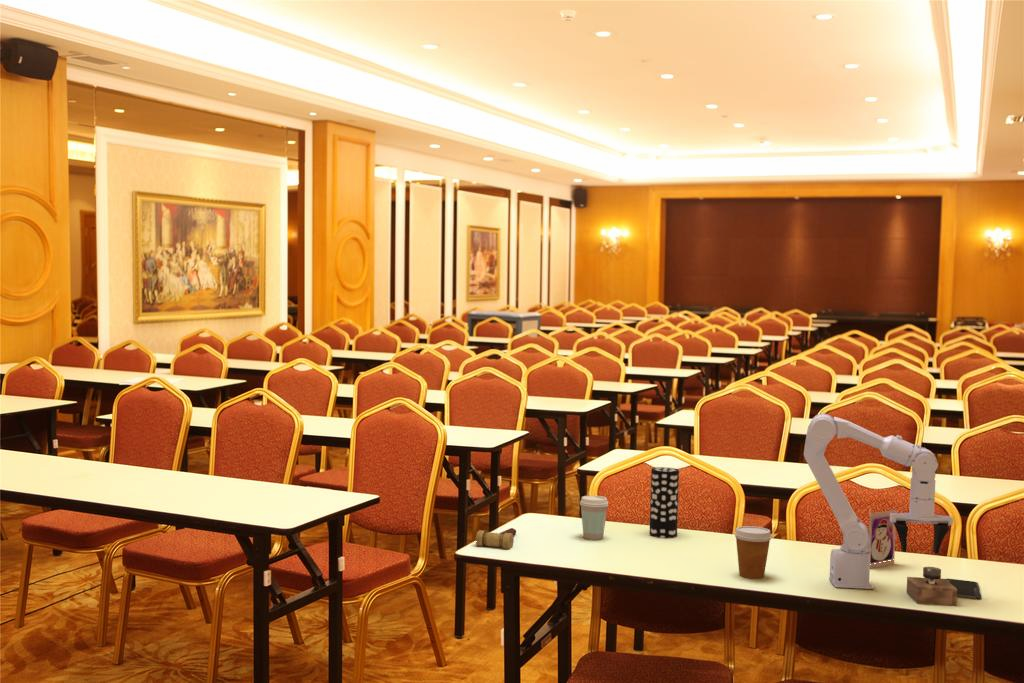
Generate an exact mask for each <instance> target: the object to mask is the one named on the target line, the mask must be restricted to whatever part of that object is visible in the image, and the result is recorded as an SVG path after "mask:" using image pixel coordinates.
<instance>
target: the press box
mask: <svg viewBox="0 0 1024 683" xmlns="http://www.w3.org/2000/svg"><path fill="white" fill-rule="evenodd" d="M946 579H947V578H941V579H935V584H928V583H929V578H925V577H917V576H907V577H906V594H907V595H908V596H909V597H910V598H911V599H912V600H913V601H914V602H915V603H916V604H919V605H921V604H922V605H939V606H957V603H958V602H957V601H958V600H957V599H958V597H957V588H955V587H954V586H953V585H952V584H951V583H949V582H948V581H947V580H946Z"/></svg>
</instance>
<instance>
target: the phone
mask: <svg viewBox="0 0 1024 683" xmlns="http://www.w3.org/2000/svg"><path fill="white" fill-rule="evenodd" d="M945 579H946V580H947V581H948V582H949V583H951V584H952V585H953V586H954V587H955V588H957V599H958V598H960V599H968V600H976V601H979V600H981V597H982V596H981V591H980V584H979V582H977V581H972V580H965V579H964V580H963V579H956V578H945Z"/></svg>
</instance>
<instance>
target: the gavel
mask: <svg viewBox="0 0 1024 683" xmlns="http://www.w3.org/2000/svg"><path fill="white" fill-rule="evenodd" d="M516 534H517V529H515V528H513V527H511V528H507V529H506V530H503V531H500V532H499V533H498V532H487V531H486V530H481V529H479V530H478V531H477V532H476V536H475V544H476V546H477V547H489V548H496V549H497V548H499V549H500V548H502V549H503V550H511V549H512V548H513V546H514V543H515V541H514V538H515V536H516ZM476 541H477V542H476Z"/></svg>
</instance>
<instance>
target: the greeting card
mask: <svg viewBox="0 0 1024 683" xmlns="http://www.w3.org/2000/svg"><path fill="white" fill-rule="evenodd" d="M890 513H897V509H891V510H886V511H878V512H873V513H872V509H869V522H868V523H869V524H868V525H869V526H868V532H869V534H868V535H869V537H870V543H869V546H868V548H870V564H871V565H870V569H873V568H874V569H875V568H879V567H884V566H889V565H890V566H891V565H894V564H895V552H896V551H895V550H896V549H895V548H896V528H895V525H894V523H893V522H891V521H890ZM893 559H894V560H893ZM888 560H891V561H888ZM883 561H886V562H883ZM879 562H881V563H879ZM874 563H876V564H874Z"/></svg>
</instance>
